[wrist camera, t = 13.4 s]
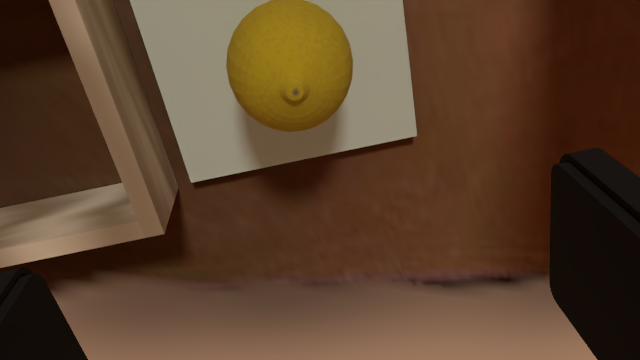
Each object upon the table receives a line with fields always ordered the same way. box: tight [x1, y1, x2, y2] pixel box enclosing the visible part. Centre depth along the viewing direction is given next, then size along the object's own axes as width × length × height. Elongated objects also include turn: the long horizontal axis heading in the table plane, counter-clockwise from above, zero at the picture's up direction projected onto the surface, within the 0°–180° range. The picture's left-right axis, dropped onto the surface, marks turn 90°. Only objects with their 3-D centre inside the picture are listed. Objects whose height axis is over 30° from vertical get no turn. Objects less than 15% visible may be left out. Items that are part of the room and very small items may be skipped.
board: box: [130, 0, 417, 183], centre depth 28 cm, size 13×13×1 cm
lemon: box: [226, 0, 353, 132], centre depth 24 cm, size 6×6×8 cm
